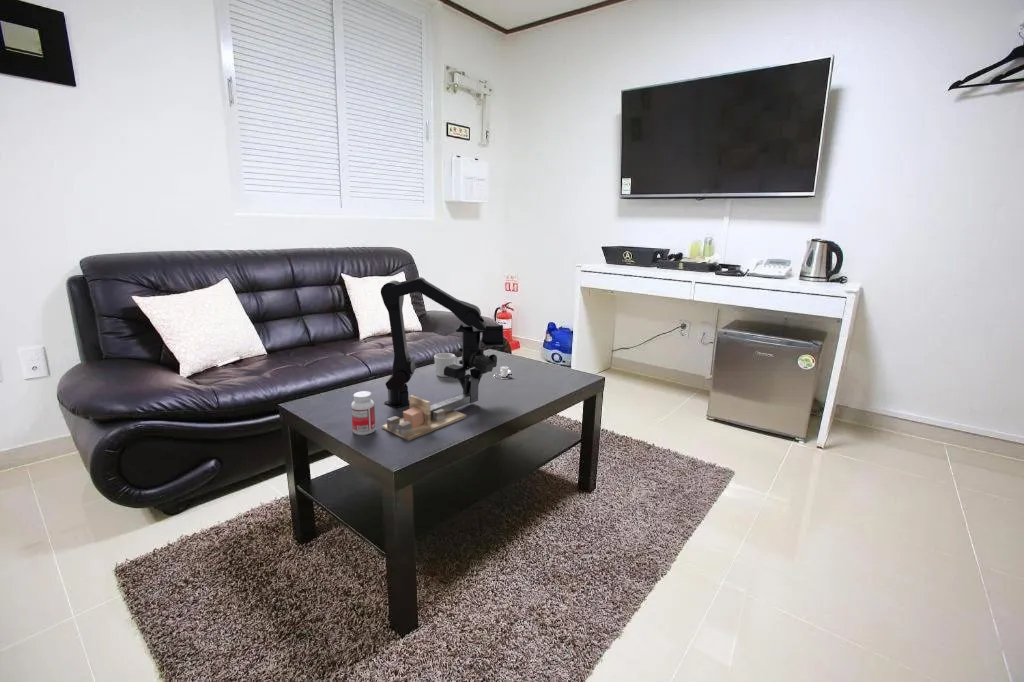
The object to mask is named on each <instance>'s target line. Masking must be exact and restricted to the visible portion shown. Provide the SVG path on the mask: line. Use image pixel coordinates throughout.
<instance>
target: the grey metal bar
mask: <svg viewBox="0 0 1024 682" xmlns="http://www.w3.org/2000/svg"><path fill="white" fill-rule="evenodd" d="M476 402H479V385H478V378H474V377H471V378H470V379H469V390H468V394H466V393H465V392H464V390H463V389H462V394H459V395H457V396H454V397H451V398H448V399H445V400H442V401H438V402H437V403H434V404H430V418H433V411H436V410H438V409H443V410H445V413H446V412H449V411H451V410H456V409H459V408H461V407H464V406H466V405H471V404H473V403H476ZM423 415H424V421H425V414H424V413H423Z"/></svg>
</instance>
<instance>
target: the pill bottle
mask: <svg viewBox="0 0 1024 682" xmlns="http://www.w3.org/2000/svg"><path fill="white" fill-rule="evenodd" d="M350 406H351V407H350V409H351V424H352V426H351V427H352V432H353V433H354V434H355V435H358V436H365V435H371V434H373V433H374V432H375V431H376V412H375V411H376V409H375V402H374V400H373V399H372V392H370V391H368V390H362V391H357V392H354V394H353V401H352V402H351V405H350Z"/></svg>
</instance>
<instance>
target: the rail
mask: <svg viewBox="0 0 1024 682" xmlns="http://www.w3.org/2000/svg"><path fill="white" fill-rule="evenodd" d="M408 398H409V400H410V404H409V409H410V408H412V407H416V408H418V409H421V410H423V413H424V414H425V421H424V423H423V424H421V425H419V426H417V427H415V428H412V427H411V422H408V421H406V422H404V417H401V418H400V417H399V416H396V415H394V416H392V417H389V418H387V419H386V423H384V424H383V425H381V429H383V430H385V431H388V432H390V433H392V434H393V435H396V436H398V437H400V438H402V439H404V440H407V441H408V442H409V441H411V440H414V439H416V438H418V437H421V436H424V435H426V434H428V433H431V432H434V431H436V430H438V429H441V428H443V427H445V426H449V425H451V424H453V423H456V422H458V421H460V420H463V419H465V418H467V414H465V413H462V412H460V411H457V410H456V409H454V410H451V411H449V412H446V413H445V410H443V409H438V410H436V411H433V418H430V405H431V401H429V400H426V399H424V398H421V397H419V396H416V395H414V394H411V395H408Z"/></svg>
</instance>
